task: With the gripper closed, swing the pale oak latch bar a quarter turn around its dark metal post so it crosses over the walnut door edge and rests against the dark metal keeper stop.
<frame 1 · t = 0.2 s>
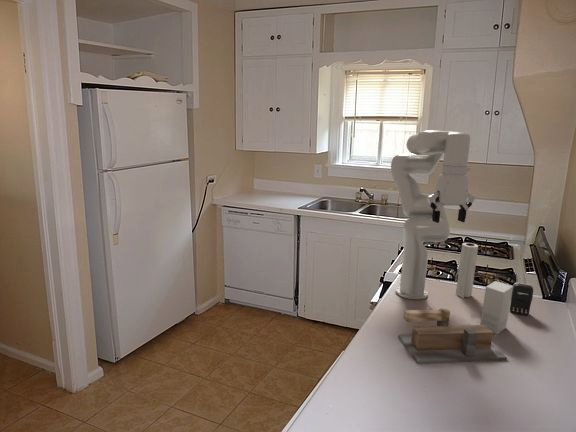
hand: (448, 221, 157), 36 cm above the counter, tool pointing down, fingers open, 9 cm apart
skincare box: (493, 328, 161), on the counter
door jamb: (450, 348, 146), on the counter
battery charger: (519, 313, 174), on the counter
paper towel roll: (462, 295, 190), on the counter
latch bar: (427, 315, 150), point 8 cm above the counter, hinge at 0.0°
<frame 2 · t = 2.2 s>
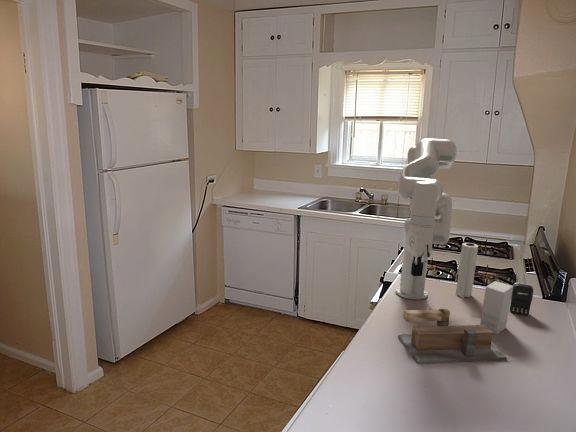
hand: (416, 275, 152), 20 cm above the counter, tool pointing down, fingers closed
nothing on the counter moved.
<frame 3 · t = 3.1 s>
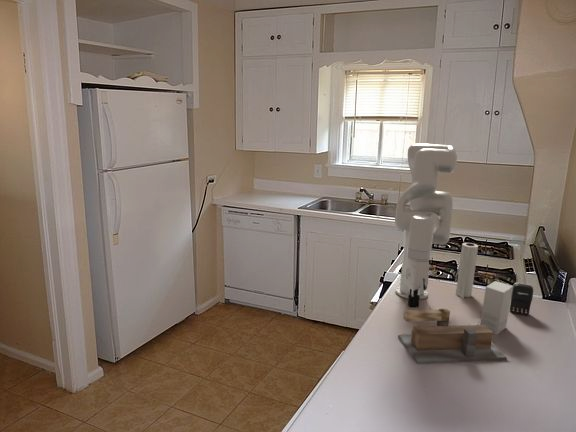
hand: (413, 306, 155), 9 cm above the counter, tool pointing down, fingers closed
nothing on the counter moved.
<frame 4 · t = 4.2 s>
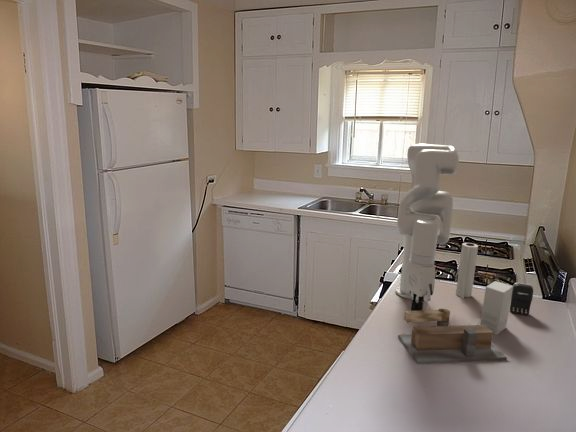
hand: (416, 312, 152), 8 cm above the counter, tool pointing down, fingers closed
latch bar: (427, 315, 149), point 8 cm above the counter, hinge at 3.0°, touching gripper
everything else where it was.
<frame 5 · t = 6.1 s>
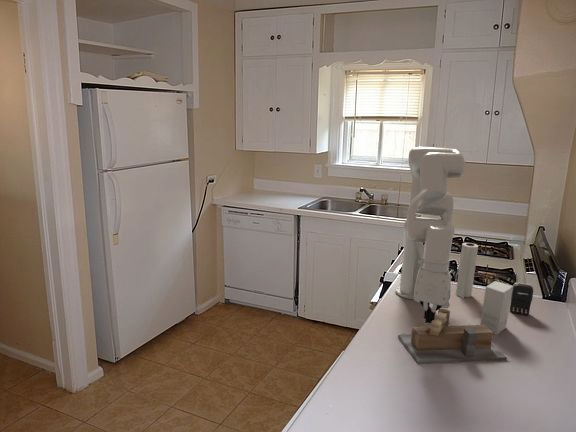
hand: (428, 321, 145), 8 cm above the counter, tool pointing down, fingers closed
latch bar: (439, 321, 146), point 8 cm above the counter, hinge at 52.2°, touching gripper
everything else where it was.
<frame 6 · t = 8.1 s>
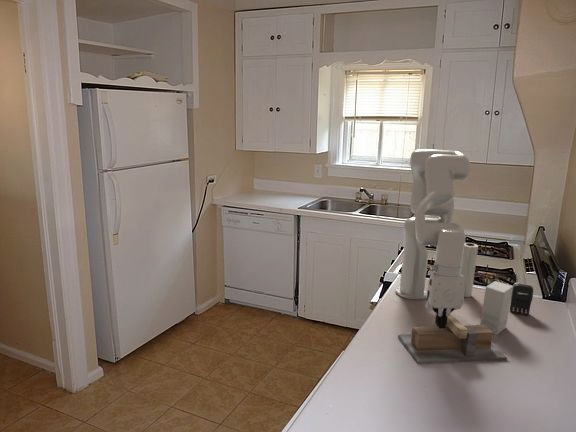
hand: (440, 326, 142), 8 cm above the counter, tool pointing down, fingers closed
latch bar: (451, 322, 145), point 8 cm above the counter, hinge at 89.7°
everything else where it was.
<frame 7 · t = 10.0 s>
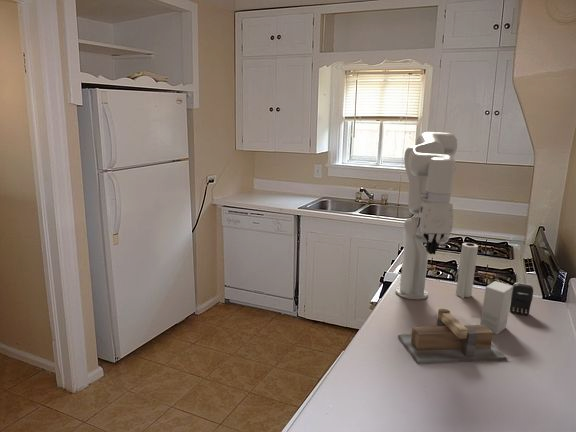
hand: (430, 252, 151), 28 cm above the counter, tool pointing down, fingers closed
nothing on the counter moved.
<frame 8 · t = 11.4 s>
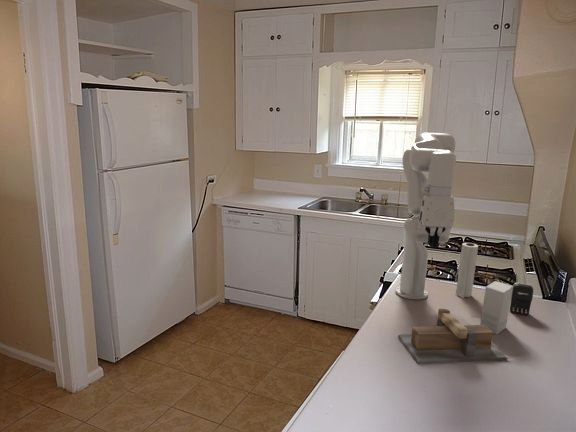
hand: (432, 246, 152), 29 cm above the counter, tool pointing down, fingers closed
nothing on the counter moved.
at the end: latch bar at +90° (first picture: +0°) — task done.
